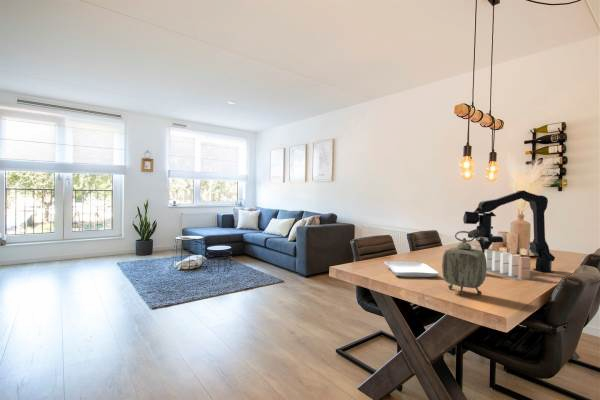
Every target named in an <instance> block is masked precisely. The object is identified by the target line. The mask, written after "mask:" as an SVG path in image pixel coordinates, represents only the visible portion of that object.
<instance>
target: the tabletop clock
mask: <svg viewBox="0 0 600 400" xmlns="http://www.w3.org/2000/svg"><path fill="white" fill-rule="evenodd" d="M463 233H465V234H471V235H472V236H473V238H471V239H468V240H467V239H466V238H465V237H463V238H462V239H461V238H458V237H457V235H459V234H463ZM454 237H455V239H456V240H458V241H460V242H459V243H458V244H457V246H455V247H454V246H453V247H451V248H449V249H446V250H444V253H443V255H442V262H441V268H442V270H441V271H442V272H441V273H442V277H443V281H445V282H446V283H448V284H449V285H448V286H447V287H448V289H450V290H452V289H453V288H454V287H453V285H454V286H457V287H460V290H459V291H458V294H459V296H460V295H462V296H463V295H464V291H463V289H464V288H469V289H475V290H476V295H479V296H481V295H482V291H481V290H479V287H481V286H482V285H483V284H484V282H485V280H486V276H487V271H486V270H487V266H486V257H485V253H484V252H483V251H482V250H479V249H477V248H476V249H471V244H470V243H469V242H473V241H475V238H474V235H473V234H472V233H470V231H468V230H461V231H457V232H456V233H455V234H454Z"/></svg>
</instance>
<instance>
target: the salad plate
mask: <svg viewBox="0 0 600 400" xmlns="http://www.w3.org/2000/svg"><path fill="white" fill-rule="evenodd" d="M383 263H384V264H385V266H386V267H387V268H388V269H389V270H391V272H392V273H393V274H394V275H395V276H397V277H403V278H404V277H405V278H407V277H408V278H433V277H437V276H438V275H439V274H440V273H439V272H438V271H437V270H436V269H434V268H432V267H430V266H429V265H428V264H426V263H424V262H416V261H415V262H412V261H410V262H409V261H384V262H383Z"/></svg>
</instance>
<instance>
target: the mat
mask: <svg viewBox="0 0 600 400" xmlns="http://www.w3.org/2000/svg"><path fill="white" fill-rule="evenodd" d="M486 272H489V273H493V274H496V275H500V276H502V277H505V278H508V279H511V280H515V281H533V280H538V278H537V277H533V276H530V279H519V278H518V276H509V273H500V271H493V270H492V268H488V269H487V270H486Z"/></svg>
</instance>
